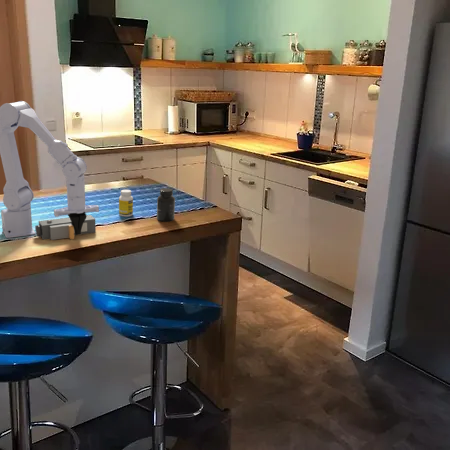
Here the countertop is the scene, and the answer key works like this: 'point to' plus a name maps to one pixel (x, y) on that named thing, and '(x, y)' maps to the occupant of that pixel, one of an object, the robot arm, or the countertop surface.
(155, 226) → the countertop surface
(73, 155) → the robot arm
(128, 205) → the supplement bottle
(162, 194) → the supplement bottle
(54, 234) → the side door
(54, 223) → the gray sliding door box
